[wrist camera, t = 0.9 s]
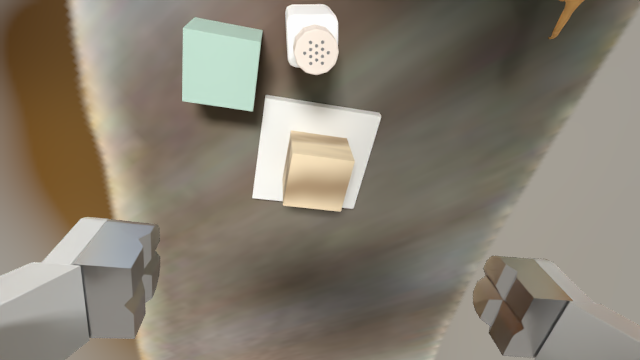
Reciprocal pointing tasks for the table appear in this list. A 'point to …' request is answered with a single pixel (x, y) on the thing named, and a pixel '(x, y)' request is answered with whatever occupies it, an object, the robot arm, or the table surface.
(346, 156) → the maple brick
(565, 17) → the figurine
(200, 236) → the table surface
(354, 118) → the plate
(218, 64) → the sage brick
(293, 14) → the pepper shaker
